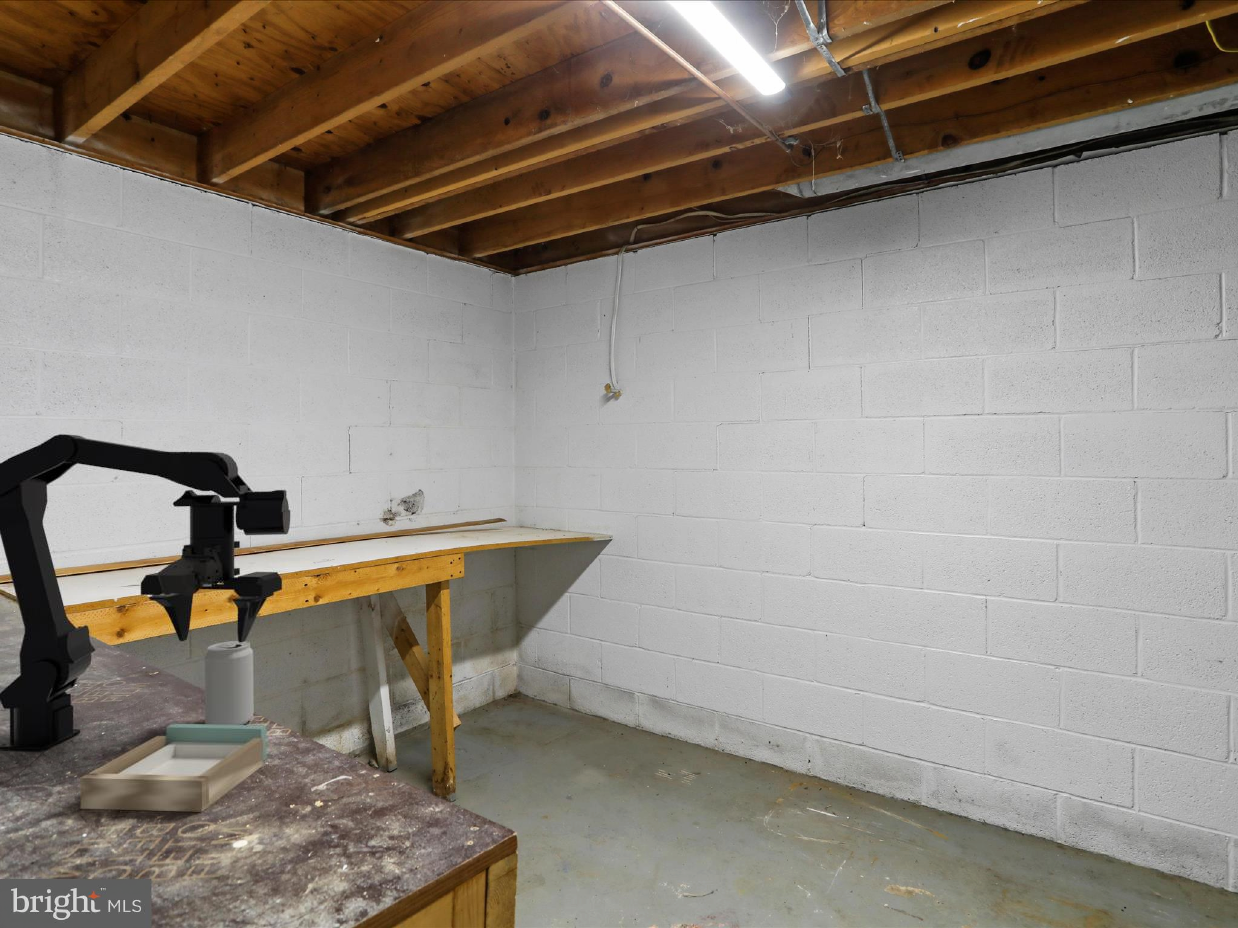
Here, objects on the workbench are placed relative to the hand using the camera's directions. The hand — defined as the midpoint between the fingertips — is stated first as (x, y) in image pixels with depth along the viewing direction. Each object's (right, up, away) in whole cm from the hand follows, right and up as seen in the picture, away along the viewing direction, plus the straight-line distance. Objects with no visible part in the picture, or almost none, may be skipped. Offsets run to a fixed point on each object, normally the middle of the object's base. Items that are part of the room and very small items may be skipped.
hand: (212, 641), depth 104 cm
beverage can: (+2, -13, +2) cm, 13 cm away
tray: (+6, -13, -17) cm, 22 cm away
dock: (+6, -13, -18) cm, 23 cm away
